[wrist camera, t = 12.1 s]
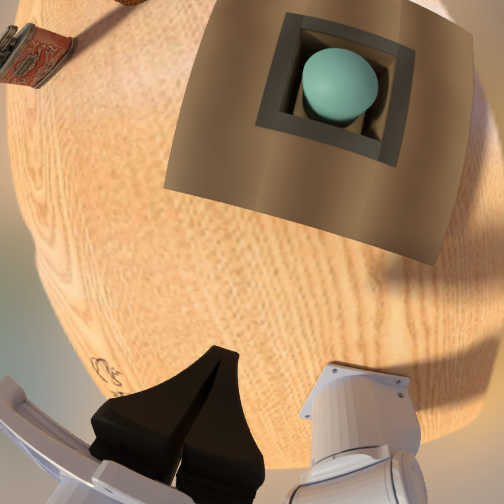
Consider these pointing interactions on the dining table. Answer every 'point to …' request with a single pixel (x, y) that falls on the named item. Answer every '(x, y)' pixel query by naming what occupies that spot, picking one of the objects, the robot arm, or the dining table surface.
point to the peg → (338, 87)
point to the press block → (324, 135)
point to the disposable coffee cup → (130, 2)
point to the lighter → (32, 55)
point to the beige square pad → (300, 112)
